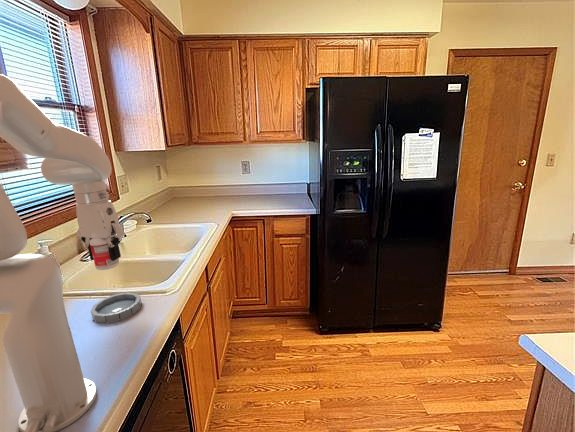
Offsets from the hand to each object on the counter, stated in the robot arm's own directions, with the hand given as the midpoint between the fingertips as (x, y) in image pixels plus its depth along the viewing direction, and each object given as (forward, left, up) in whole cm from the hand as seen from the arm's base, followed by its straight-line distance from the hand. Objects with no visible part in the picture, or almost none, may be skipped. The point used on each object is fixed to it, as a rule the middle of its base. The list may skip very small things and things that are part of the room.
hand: (105, 257), depth 93 cm
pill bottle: (0, 0, -3) cm, 3 cm away
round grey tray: (0, 0, -17) cm, 17 cm away
